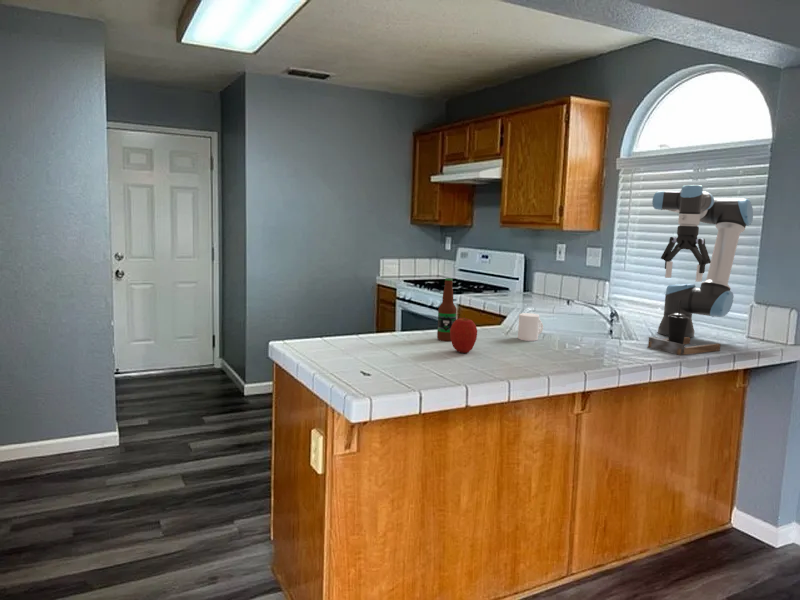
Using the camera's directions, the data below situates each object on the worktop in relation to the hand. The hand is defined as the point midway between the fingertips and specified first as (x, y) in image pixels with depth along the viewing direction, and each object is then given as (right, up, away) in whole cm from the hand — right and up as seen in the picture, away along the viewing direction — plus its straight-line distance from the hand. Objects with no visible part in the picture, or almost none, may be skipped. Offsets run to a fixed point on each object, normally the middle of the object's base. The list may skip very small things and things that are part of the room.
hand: (683, 279), depth 235 cm
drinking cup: (-1, -28, +4) cm, 28 cm away
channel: (+3, -28, +6) cm, 29 cm away
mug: (-57, -25, +16) cm, 64 cm away
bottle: (-93, -24, +8) cm, 96 cm away
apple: (-88, -28, -13) cm, 94 cm away
